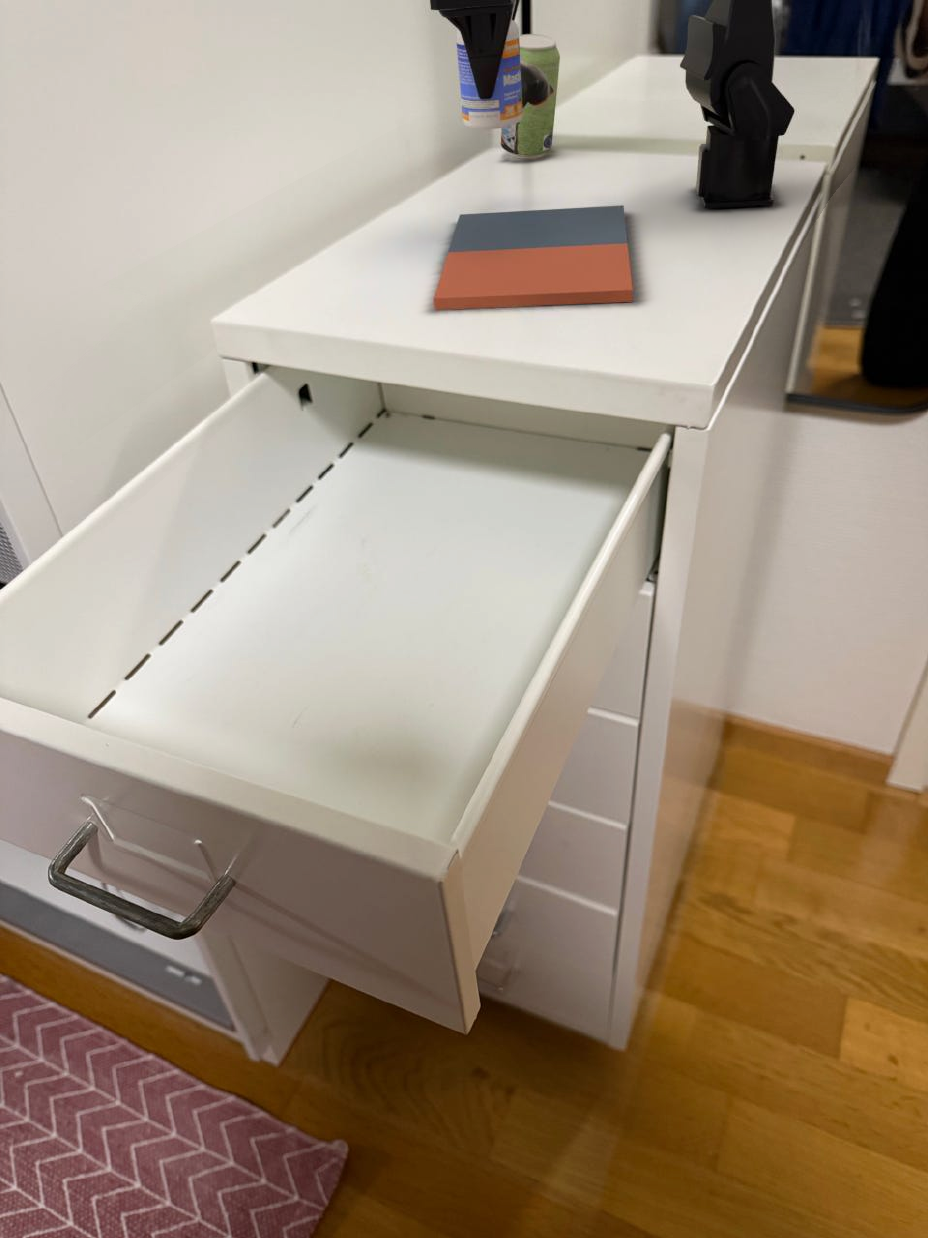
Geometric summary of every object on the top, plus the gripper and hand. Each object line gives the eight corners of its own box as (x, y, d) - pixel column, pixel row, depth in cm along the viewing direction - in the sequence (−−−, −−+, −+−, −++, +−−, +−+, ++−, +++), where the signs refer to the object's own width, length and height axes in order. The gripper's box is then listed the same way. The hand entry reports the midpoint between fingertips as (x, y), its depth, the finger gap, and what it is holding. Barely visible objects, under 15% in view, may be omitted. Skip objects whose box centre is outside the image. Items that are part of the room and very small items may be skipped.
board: (623, 215, 85) (623, 204, 85) (632, 301, 70) (633, 289, 69) (460, 224, 88) (459, 214, 87) (434, 310, 72) (433, 298, 71)
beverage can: (518, 146, 108) (514, 29, 100) (571, 150, 104) (571, 30, 96) (490, 160, 104) (483, 40, 96) (543, 165, 101) (541, 42, 93)
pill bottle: (517, 129, 77) (511, -6, 70) (457, 131, 78) (446, -1, 71) (527, 113, 80) (523, -16, 74) (470, 116, 82) (460, -12, 75)
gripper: (394, -135, 75) (416, 75, 86) (346, -125, 61) (380, 124, 72) (523, -150, 74) (530, 66, 84) (504, -143, 60) (515, 114, 70)
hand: (489, 90), depth 77 cm, fingers closed on pill bottle, 5 cm apart
